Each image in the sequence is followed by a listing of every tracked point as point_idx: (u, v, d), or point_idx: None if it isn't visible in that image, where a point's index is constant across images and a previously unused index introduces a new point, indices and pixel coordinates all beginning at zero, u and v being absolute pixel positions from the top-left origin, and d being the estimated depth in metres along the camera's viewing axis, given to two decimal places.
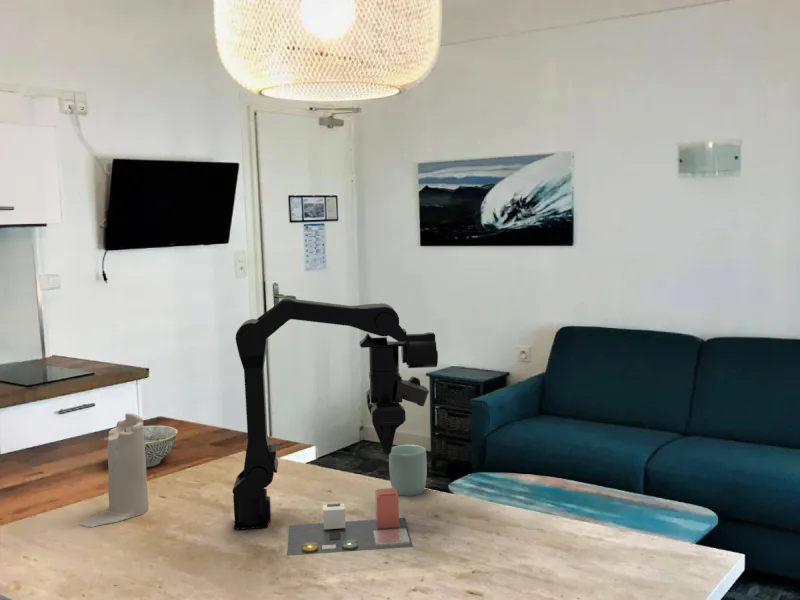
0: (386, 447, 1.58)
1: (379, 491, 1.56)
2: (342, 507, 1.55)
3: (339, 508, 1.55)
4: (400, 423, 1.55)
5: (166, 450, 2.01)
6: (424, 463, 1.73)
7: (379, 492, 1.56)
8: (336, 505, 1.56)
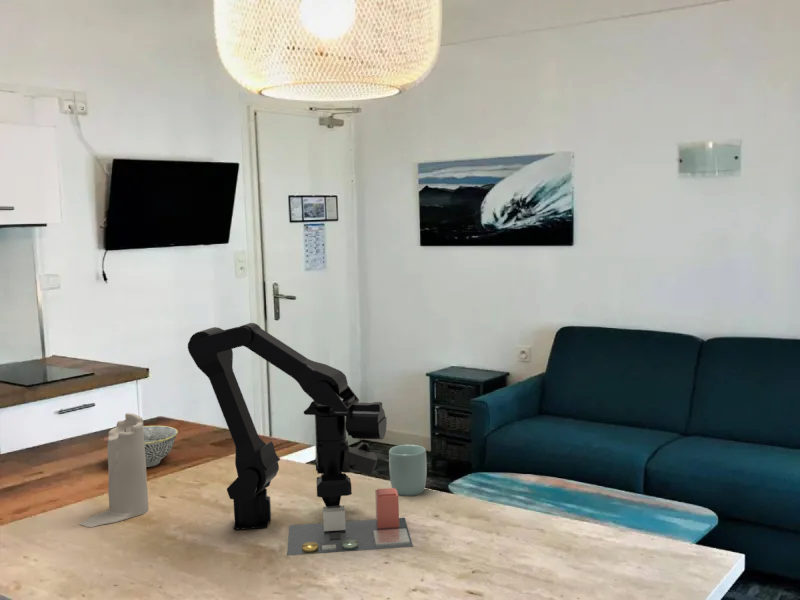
0: None
1: (379, 491, 1.56)
2: (342, 508, 1.54)
3: (339, 510, 1.54)
4: None
5: (166, 450, 2.01)
6: (424, 463, 1.73)
7: (379, 492, 1.56)
8: (336, 507, 1.55)
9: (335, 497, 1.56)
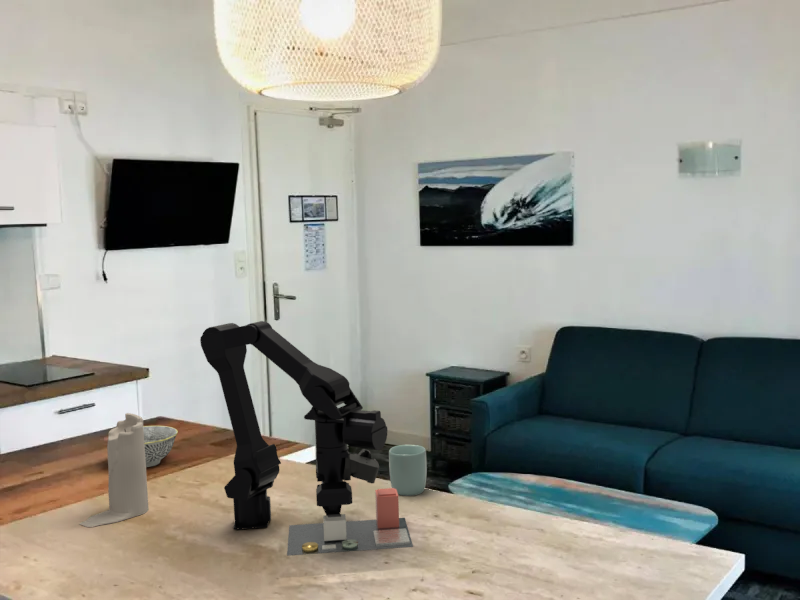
0: None
1: (379, 491, 1.56)
2: (343, 517, 1.50)
3: (340, 519, 1.49)
4: None
5: (166, 450, 2.01)
6: (424, 463, 1.73)
7: (379, 492, 1.56)
8: (337, 516, 1.50)
9: (336, 505, 1.52)
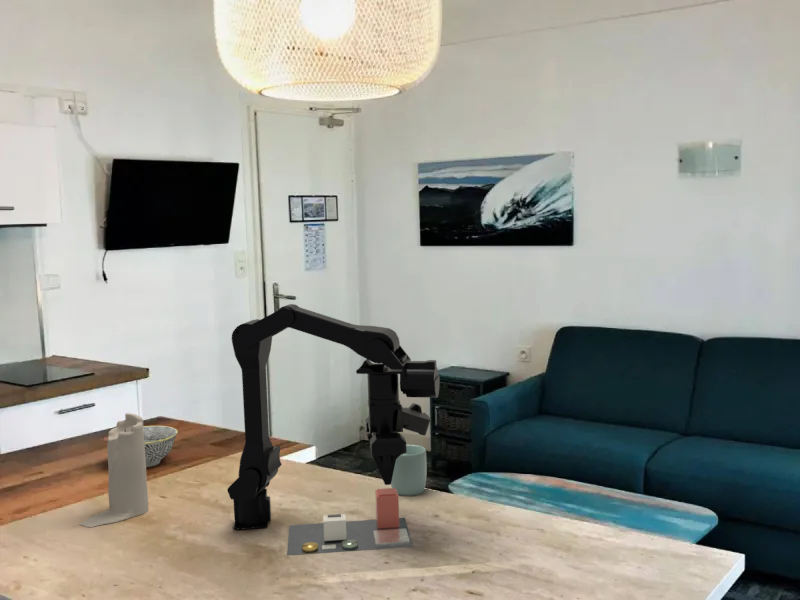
0: (386, 478, 1.52)
1: (379, 491, 1.56)
2: (343, 517, 1.50)
3: (340, 519, 1.49)
4: None
5: (166, 450, 2.01)
6: (424, 463, 1.73)
7: (379, 492, 1.56)
8: (337, 516, 1.50)
9: (389, 463, 1.51)
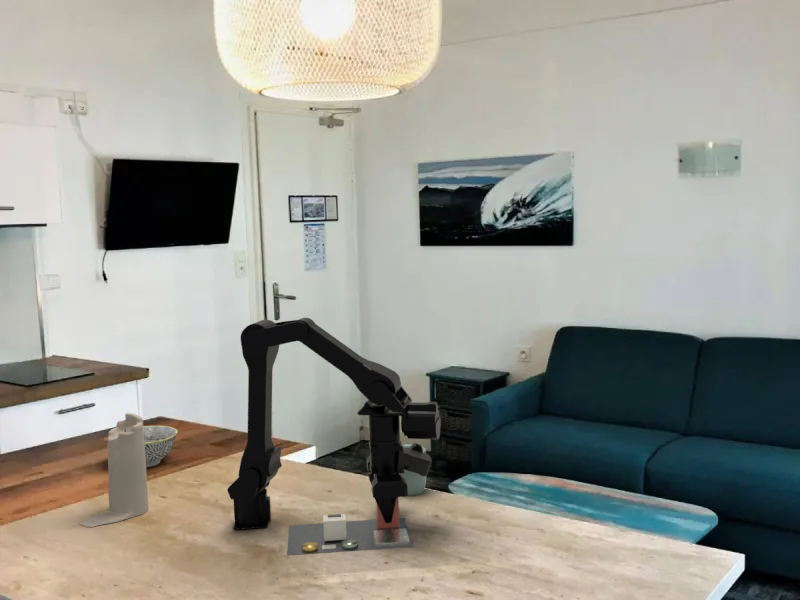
0: (387, 516, 1.54)
1: None
2: (343, 517, 1.50)
3: (340, 519, 1.49)
4: None
5: (166, 450, 2.01)
6: None
7: None
8: (337, 516, 1.50)
9: (390, 502, 1.53)
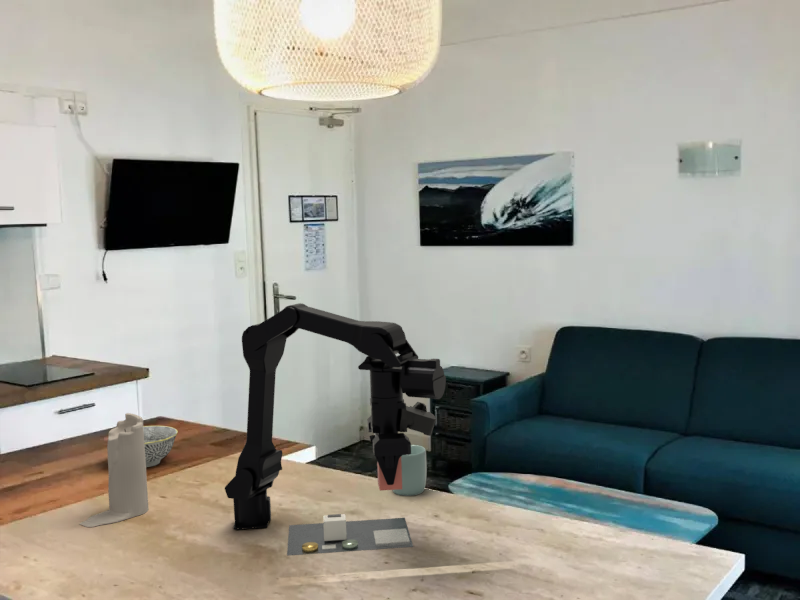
0: (389, 477, 1.45)
1: None
2: (343, 517, 1.50)
3: (340, 519, 1.49)
4: None
5: (166, 450, 2.01)
6: (424, 463, 1.73)
7: None
8: (337, 516, 1.50)
9: (392, 462, 1.45)
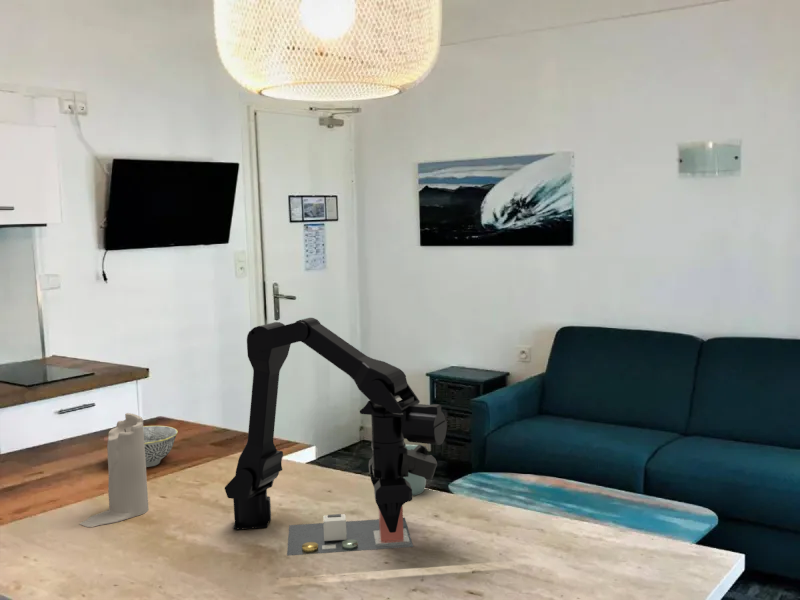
0: (391, 525, 1.45)
1: None
2: (343, 517, 1.50)
3: (340, 519, 1.49)
4: None
5: (166, 450, 2.01)
6: None
7: None
8: (337, 516, 1.50)
9: (394, 510, 1.44)
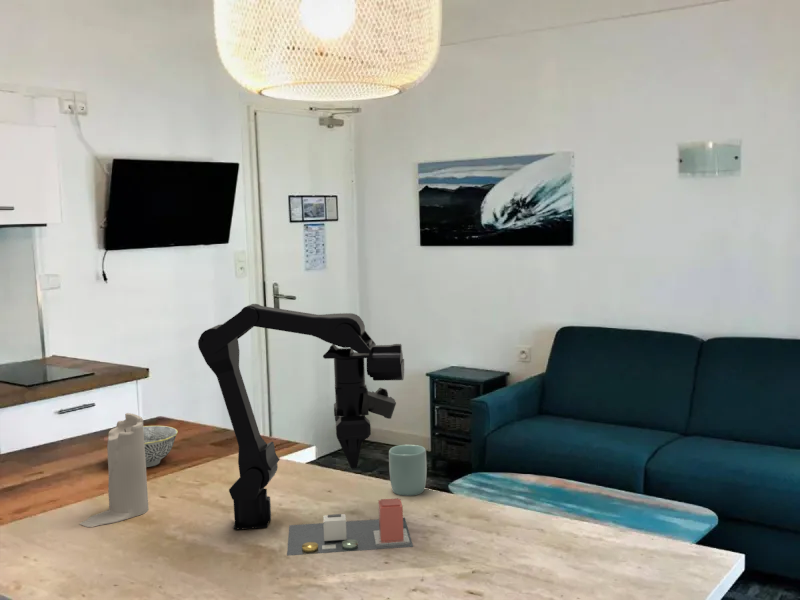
0: (352, 461, 1.54)
1: (382, 502, 1.49)
2: (343, 517, 1.50)
3: (340, 519, 1.49)
4: (365, 437, 1.51)
5: (166, 450, 2.01)
6: (424, 463, 1.73)
7: (382, 503, 1.48)
8: (337, 516, 1.50)
9: (355, 447, 1.53)
